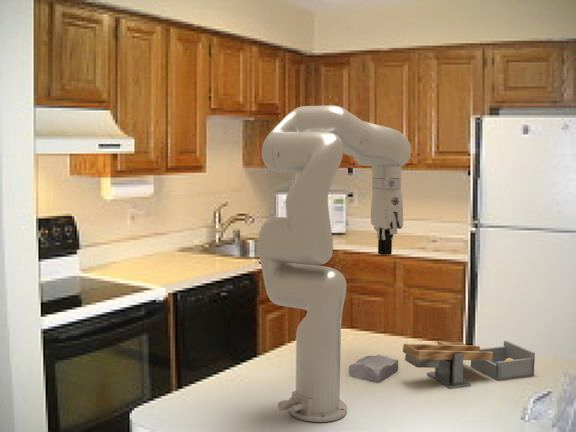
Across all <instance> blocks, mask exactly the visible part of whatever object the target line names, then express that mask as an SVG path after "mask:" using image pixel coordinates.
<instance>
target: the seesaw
mask: <svg viewBox="0 0 576 432" xmlns="http://www.w3.org/2000/svg"><path fill="white" fill-rule="evenodd" d="M442 344H444V345H442ZM402 347H403V348H402V353H403V354H405V356H404V360H405V362H407V363H409V364H410V365H412V366H414V367H415V368H420V369H421V368H432V369H435V368H439V361H440V360H453V354H458V353H462V354H463V361H471V360H487V361H492V357H493V352H481V351H480V349H481V346H480V345H467V344H466V343H463V342H461V341H442V340H441V341H437V344H427V343H426V344H425V343H424V344H422V343H403V346H402Z"/></svg>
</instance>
